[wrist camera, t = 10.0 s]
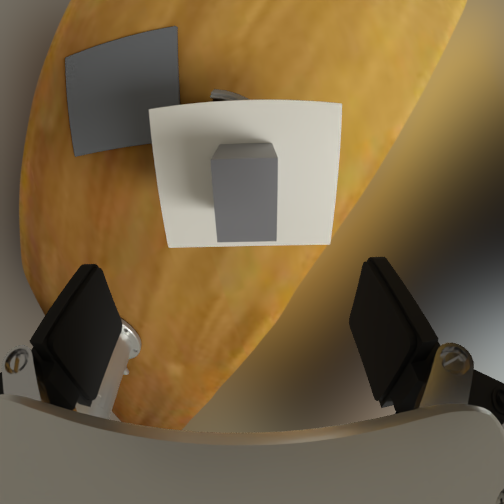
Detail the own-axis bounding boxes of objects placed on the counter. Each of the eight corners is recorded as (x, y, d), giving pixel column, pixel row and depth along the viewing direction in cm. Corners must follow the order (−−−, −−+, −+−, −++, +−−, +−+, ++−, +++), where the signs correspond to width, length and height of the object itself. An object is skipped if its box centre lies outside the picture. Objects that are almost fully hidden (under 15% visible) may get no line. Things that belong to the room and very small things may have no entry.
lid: (327, 238, 23) (344, 278, 18) (171, 241, 23) (153, 282, 18) (337, 102, 17) (367, 108, 12) (153, 108, 17) (121, 116, 12)
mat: (182, 139, 28) (181, 140, 27) (77, 155, 28) (74, 156, 27) (177, 27, 21) (176, 26, 20) (67, 58, 21) (65, 57, 20)
